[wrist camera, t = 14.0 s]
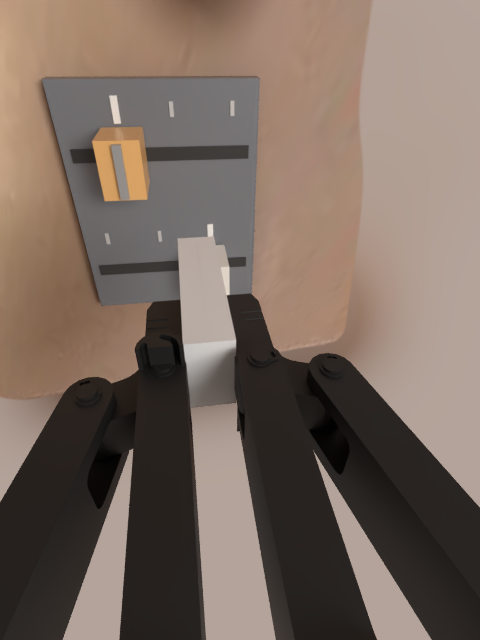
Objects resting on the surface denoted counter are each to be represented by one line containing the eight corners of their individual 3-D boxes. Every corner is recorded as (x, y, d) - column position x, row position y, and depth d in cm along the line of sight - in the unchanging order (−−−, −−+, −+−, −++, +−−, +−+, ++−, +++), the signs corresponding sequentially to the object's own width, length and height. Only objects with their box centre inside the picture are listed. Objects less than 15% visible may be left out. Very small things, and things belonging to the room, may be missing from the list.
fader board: (103, 298, 39) (101, 306, 38) (46, 76, 27) (41, 79, 26) (249, 288, 40) (251, 295, 39) (256, 76, 29) (259, 78, 28)
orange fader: (111, 182, 30) (103, 203, 27) (100, 127, 28) (91, 142, 25) (149, 181, 31) (147, 201, 27) (142, 126, 28) (138, 141, 25)
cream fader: (194, 283, 37) (196, 310, 34) (191, 246, 35) (193, 271, 31) (224, 281, 38) (230, 307, 34) (224, 244, 35) (229, 269, 32)
